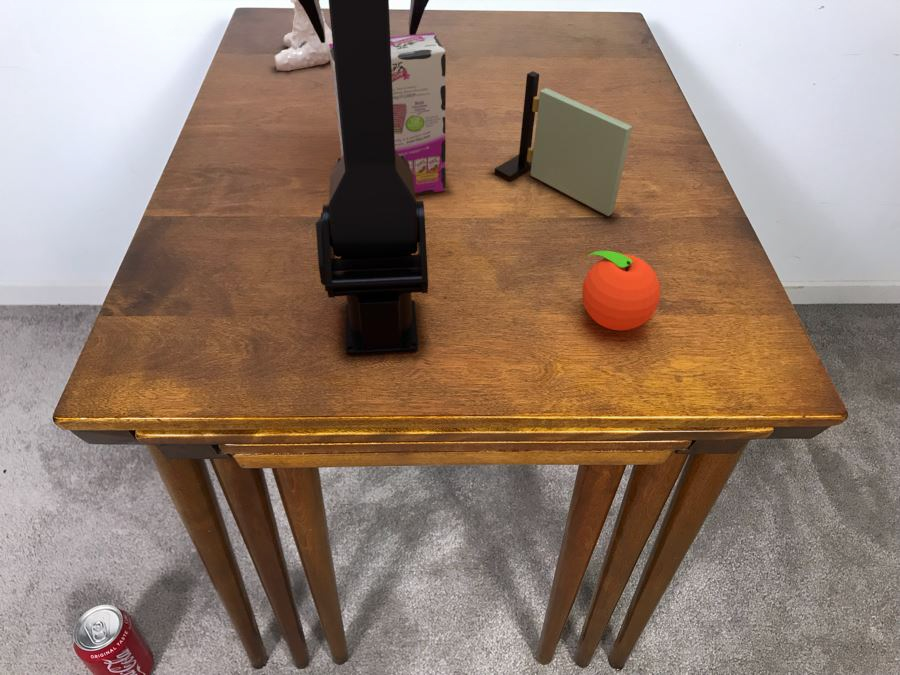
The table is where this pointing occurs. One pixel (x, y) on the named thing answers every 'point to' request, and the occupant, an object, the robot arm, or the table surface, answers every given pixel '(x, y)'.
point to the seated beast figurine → (303, 44)
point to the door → (579, 150)
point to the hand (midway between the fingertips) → (367, 40)
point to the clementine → (620, 291)
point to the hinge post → (523, 134)
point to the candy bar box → (416, 107)
